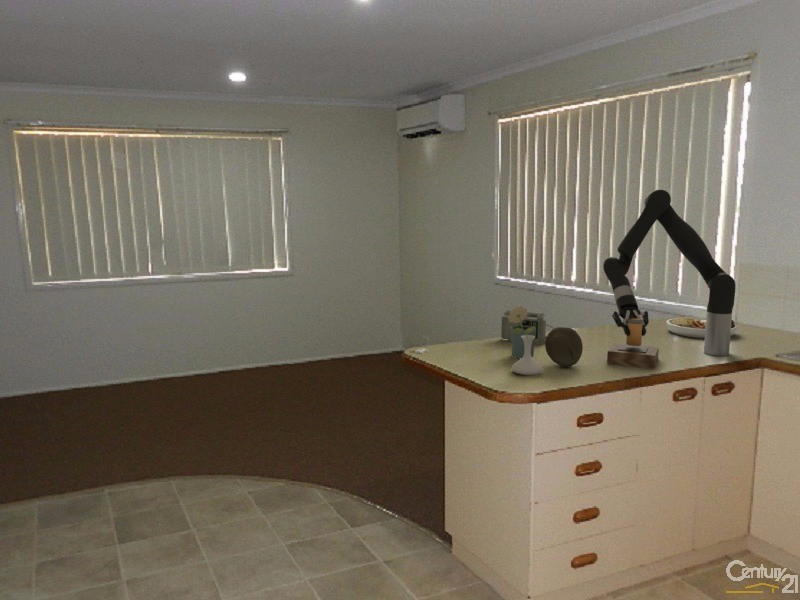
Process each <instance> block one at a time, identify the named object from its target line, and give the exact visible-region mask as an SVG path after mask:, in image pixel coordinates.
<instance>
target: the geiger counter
mask: <svg viewBox="0 0 800 600" xmlns="http://www.w3.org/2000/svg"><path fill="white" fill-rule="evenodd" d="M511 311H512V310H509V309H508V310H506V311H505V312H504V313H503V314H504V315H502V316H501V327H500V328H501V333H500V335H501V336H500V338H503V339H508V340H511V327H512V326H521V322H522V326H532V327H533V326H534V327H535V328H536V333H535V340H534V344H535V343H540V344H539V345H545V340H546V337H547V336H546V333H547V330H546V329H547V327H550V328H552V330H553V329H555V327H553V326H552V325H549V324H547V319H546V318H545V312H541V311H537V312H531V311H527V312H528V313H527V316H526V318H525V319H524V320H523V321H521V322H518V323H513V322H512V323H511V322H509V319H508V316H509V314H510V312H511ZM503 339H500V340H501V341H504V340H503Z"/></svg>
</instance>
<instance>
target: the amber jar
mask: <svg viewBox="0 0 800 600" xmlns="http://www.w3.org/2000/svg"><path fill="white" fill-rule="evenodd" d="M642 323H643V318H642V319H640V318H627V325H628V327H629V330H630V335H629V336H627V335H626V341H625V344H627V345H631V346H641V345H642V338H643V336H642Z"/></svg>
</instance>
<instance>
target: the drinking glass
mask: <svg viewBox="0 0 800 600" xmlns="http://www.w3.org/2000/svg"><path fill="white" fill-rule="evenodd" d="M522 327H523V330H524V331H525V333H526V329H528V328H531V327H532V326H522ZM522 327H521V326H512V327H511V332H512V331H513V330H514V329H515V328H521V329H522ZM523 330H522V331H521V332H520V333H511V341H510V342H511V344H510V345H511V357H512V356H513V357H516V358H515V359H517V358H522V357H523V356H524V351H525V347H524V341H523V339H522V337H521V336H523V335H525V333H524V331H523ZM535 333H536V328H535V327H534V330H533V331H532V332H530V333H526V335H532V336H535ZM534 340H535V338H534V339H533V341H532V344H531V356H532V357H533V358H534V356H535V355H534V352H535V343H534ZM513 357H512V358H513Z"/></svg>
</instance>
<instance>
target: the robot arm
mask: <svg viewBox="0 0 800 600" xmlns="http://www.w3.org/2000/svg"><path fill="white" fill-rule="evenodd" d="M671 202H672V197H671V194H670V193H669V192H668V191H667V190H665V189H660V188H659V189H655V190H652V191H651V192H649V193H648V194H647V195H646V196H645V198H644V208H643V210H642V212H641V213H640V215H639V216H638V219H637V220H636V221H635V223H634V224H632V226H631V228H629V230H628V232H627V233H626V235H624V237H623V239H622V241H621V242H620V244H619V245H618V247H617V249H616V250H617V252H618V253H619V258H617V257H615V256H609V257H607V258H606V259H605V260H604V262H603V267H602V268H603V272H604V274H605V276H606V278H607V279H608V281H609V282H610V284H611V289H612V292H613V297H614V301H615V304H616V307H617V310H618V311H616V310H615V311H613V313H612V314H611V315H612V316H611V317H612V319H613V321H614V322H615V324H616V326H617V327H618V328H622V329H623V332H624V335H625V336H626V337H627V336H629V335H630V330H629V327H628V325H627V318H640V319H643V323H642V337H643V336H644V337H645V335H646V333H647V329H646V328H647V326H648V325H649V323H650V320H649V312H648V311H647V310H644V311H641V310H640V309H639V305H638V301H637V300H636V296H635V293H634V291H633V288H632V287H631V286H632V285H631V282H630V280H629V278H628V277H627V276H626V275H627V274H628V273H629V270H630V267H631V264H632V261H633V258H634V256H635V254H636V252H637V251H638V249H639V248H640V246H641V244H642V243H643V242H644V240H645V238H646V237H647V235H648V233H649V231H650V230H651V228H652V227H653V226H654V224H655V223H656V221H657V222H658V223H659V224H660V225H661V226H662V227H663V229H664V230H665V232H666V234H667V235H668V237H669V238H670V239H671V240H672V242H673V244H674V245H675V246H676V248H677V249H678V250H679V252H680V253H681V254H682V255H683V256H684V257H685V259H686V260H687V261H688V262H689V263H690V264H691V265H692V266H694V268H695V269H696V270H697V272H699V274H700V276H701V277H702V279H703V280H704V283H705V284H706V285H707V287H708V289H709V295H708V302H707V307H706V318H705V319H706V330H705V338H704V342H703V343H704V347H703V353H704V354H706V355H710V356H715V357H716V356H719V357H721V356H722V357H723V356H724V357H725V356H727V357H729V356H730V346H731V320H733V309H734V306H735V299H736V298H735V297H736V281H735V279H734V278H733V276H731V275H730V274H728V273H727V272H726V271H725V270H723V268H721V266H720V265H719V264H718V263H717V262H716V261H715V259H714V258H713V256H712V253H711V252H710V251H709V250H710V249H708V246H707V245H706V243H705V242H704V240H703V239H702V237H701V236H700V235H699V234H698V232H697V231H696V230H695V229H694V228H693V227H692V226H691V225H690V223H688V222H686V221H685V220H684V219H683V218H682V217H680V216H679V214H678V213H677V212H676V211H675V209H674V207H673V206H672V205H671Z"/></svg>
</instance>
